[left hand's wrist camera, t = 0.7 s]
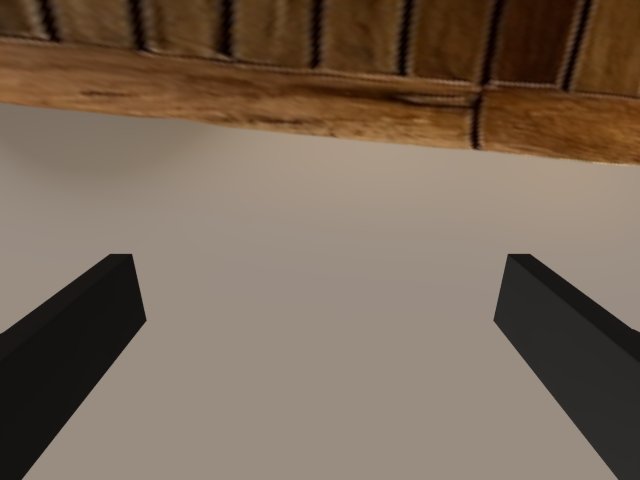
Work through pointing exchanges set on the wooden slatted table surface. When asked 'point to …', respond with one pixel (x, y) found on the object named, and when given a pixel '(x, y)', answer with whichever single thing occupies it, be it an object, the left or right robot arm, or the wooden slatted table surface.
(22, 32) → the wooden slatted table surface
